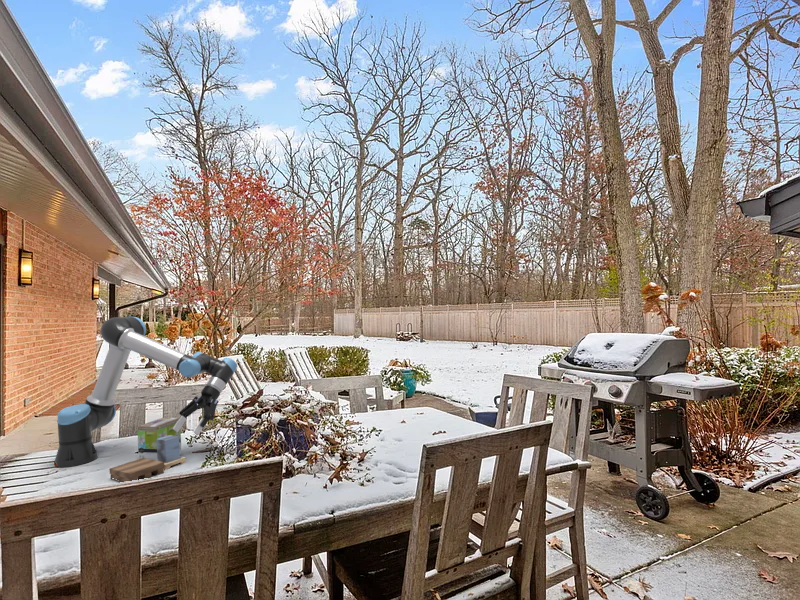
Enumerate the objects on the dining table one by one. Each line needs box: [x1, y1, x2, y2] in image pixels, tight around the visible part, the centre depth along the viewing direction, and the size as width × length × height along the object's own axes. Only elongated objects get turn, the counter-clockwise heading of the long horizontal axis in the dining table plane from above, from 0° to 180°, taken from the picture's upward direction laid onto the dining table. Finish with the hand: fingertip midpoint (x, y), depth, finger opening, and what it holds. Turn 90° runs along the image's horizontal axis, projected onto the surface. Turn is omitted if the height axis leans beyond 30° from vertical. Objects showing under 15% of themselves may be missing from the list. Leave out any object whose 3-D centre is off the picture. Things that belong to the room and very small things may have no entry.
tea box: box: [137, 417, 182, 460], centre depth 203 cm, size 15×10×15 cm
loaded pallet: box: [156, 435, 187, 470], centre depth 189 cm, size 9×9×11 cm
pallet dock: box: [109, 458, 165, 483], centre depth 178 cm, size 14×13×4 cm
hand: (185, 432), depth 195 cm, fingers open, 13 cm apart
